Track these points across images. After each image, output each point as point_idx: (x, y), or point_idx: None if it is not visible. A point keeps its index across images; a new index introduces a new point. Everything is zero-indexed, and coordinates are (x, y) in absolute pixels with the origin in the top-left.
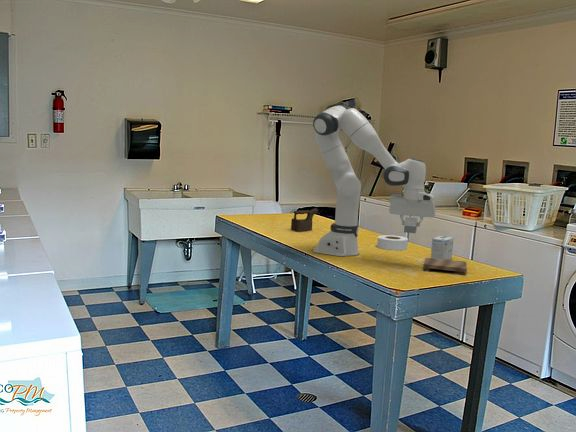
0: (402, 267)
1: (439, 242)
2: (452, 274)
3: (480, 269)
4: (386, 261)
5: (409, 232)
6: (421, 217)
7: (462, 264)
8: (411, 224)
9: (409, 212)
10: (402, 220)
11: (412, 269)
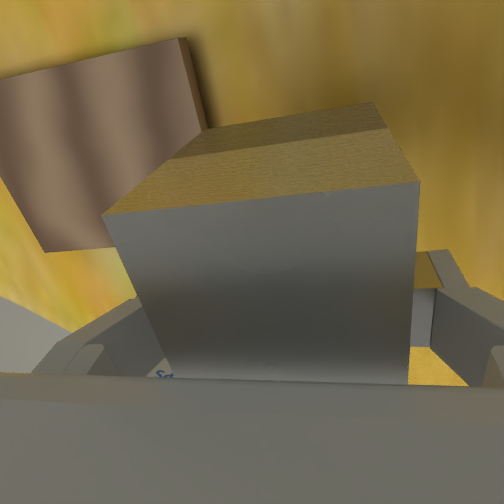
0: (332, 45)
1: (171, 370)
2: (37, 59)
3: (17, 247)
4: (456, 159)
5: (285, 118)
6: (59, 373)
7: (22, 183)
8: (240, 157)
9: (315, 475)
10: (467, 296)
11: (260, 28)
